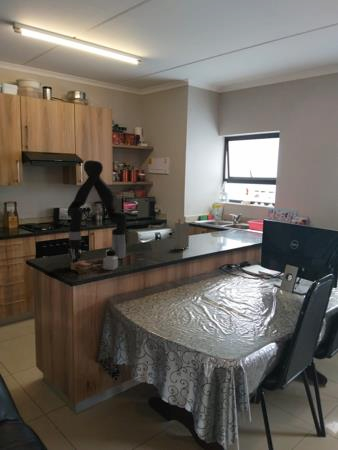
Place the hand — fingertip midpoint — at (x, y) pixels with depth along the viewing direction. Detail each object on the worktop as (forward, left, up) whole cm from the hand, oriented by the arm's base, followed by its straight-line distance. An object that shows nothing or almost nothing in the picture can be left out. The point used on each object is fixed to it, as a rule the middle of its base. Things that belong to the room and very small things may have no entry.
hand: (75, 264), depth 229 cm
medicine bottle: (-13, +19, -2) cm, 23 cm away
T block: (0, +8, -2) cm, 8 cm away
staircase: (-94, +18, -2) cm, 96 cm away
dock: (0, +12, -2) cm, 12 cm away
